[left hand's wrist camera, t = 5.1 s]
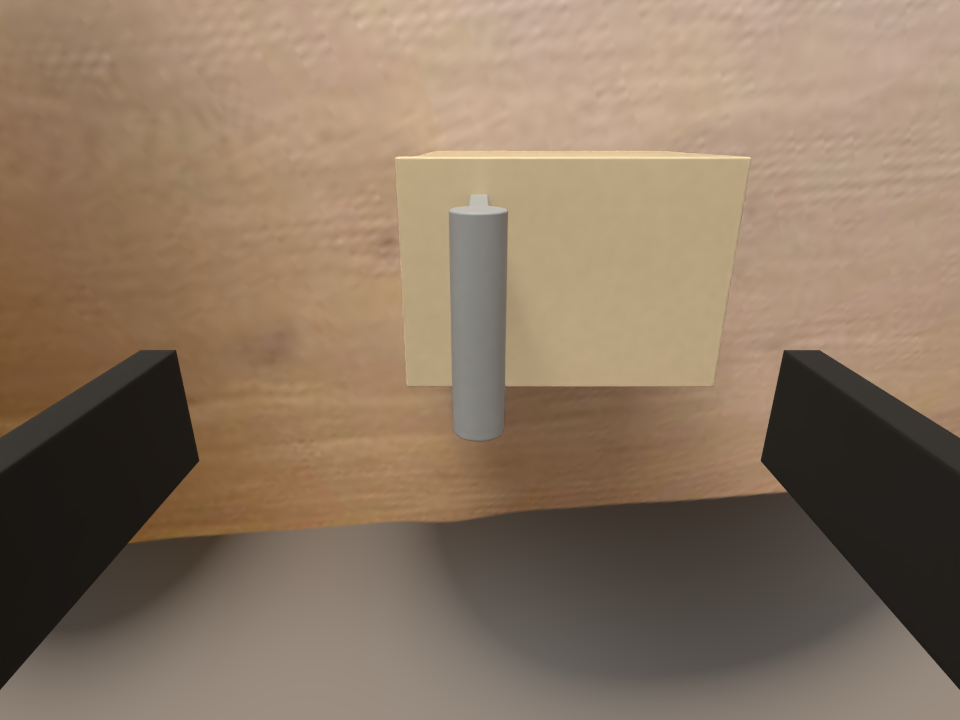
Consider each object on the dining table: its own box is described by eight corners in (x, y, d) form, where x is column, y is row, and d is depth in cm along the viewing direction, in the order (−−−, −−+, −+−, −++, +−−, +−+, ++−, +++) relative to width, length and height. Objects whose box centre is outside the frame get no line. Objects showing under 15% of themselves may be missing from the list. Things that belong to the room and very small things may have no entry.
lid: (408, 379, 26) (380, 475, 19) (397, 156, 22) (356, 165, 15) (706, 379, 26) (796, 475, 19) (741, 156, 22) (870, 165, 15)
